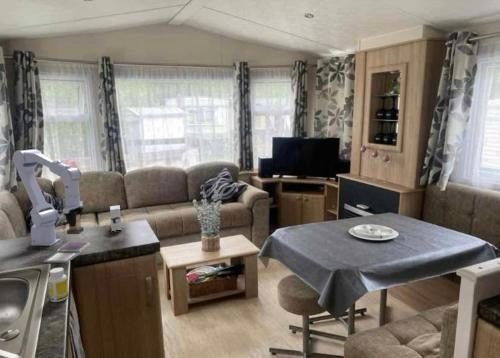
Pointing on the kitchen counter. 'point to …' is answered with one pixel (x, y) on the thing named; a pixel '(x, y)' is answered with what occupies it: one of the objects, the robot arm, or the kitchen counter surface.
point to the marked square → (61, 257)
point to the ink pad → (74, 247)
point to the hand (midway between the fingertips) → (74, 225)
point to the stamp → (76, 227)
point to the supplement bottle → (57, 285)
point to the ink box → (115, 218)
